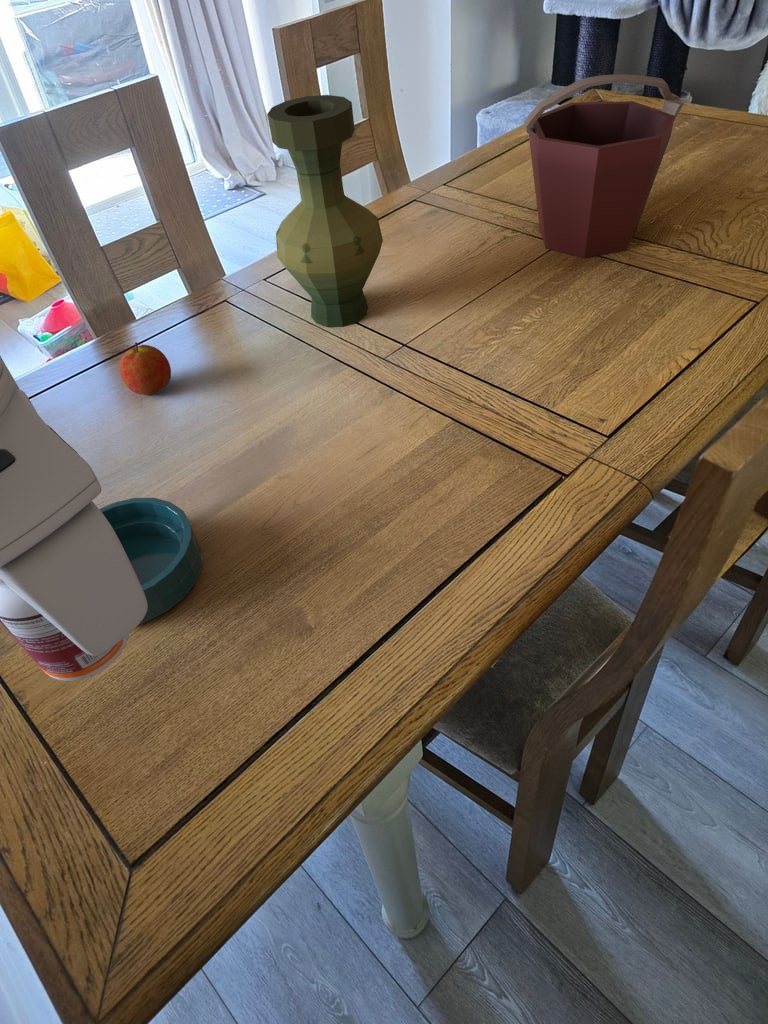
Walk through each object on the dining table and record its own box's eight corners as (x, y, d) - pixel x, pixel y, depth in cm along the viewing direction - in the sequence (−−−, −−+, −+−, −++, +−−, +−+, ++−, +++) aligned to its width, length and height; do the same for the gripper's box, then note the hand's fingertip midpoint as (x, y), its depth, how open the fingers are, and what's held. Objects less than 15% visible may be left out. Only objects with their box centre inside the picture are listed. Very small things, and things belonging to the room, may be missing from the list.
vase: (327, 350, 106) (291, 138, 84) (271, 314, 115) (226, 114, 94) (409, 309, 112) (395, 102, 91) (350, 277, 121) (324, 82, 100)
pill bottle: (58, 608, 49) (-21, 500, 42) (142, 605, 49) (78, 494, 41) (25, 687, 45) (-70, 582, 37) (117, 683, 45) (40, 577, 37)
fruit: (165, 406, 99) (146, 358, 94) (121, 403, 101) (100, 356, 95) (184, 378, 104) (167, 330, 98) (142, 375, 105) (123, 329, 100)
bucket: (658, 211, 129) (688, 54, 111) (662, 268, 114) (698, 97, 96) (524, 210, 134) (532, 60, 116) (512, 264, 120) (519, 102, 102)
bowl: (152, 647, 70) (135, 618, 67) (43, 609, 75) (21, 580, 71) (228, 544, 79) (216, 513, 76) (126, 516, 84) (111, 486, 80)
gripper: (-207, 408, 38) (-64, 569, 47) (-14, 572, 28) (115, 732, 38) (-95, 350, 41) (17, 512, 51) (114, 480, 31) (202, 649, 41)
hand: (60, 607), depth 44 cm, fingers closed on pill bottle, 6 cm apart
